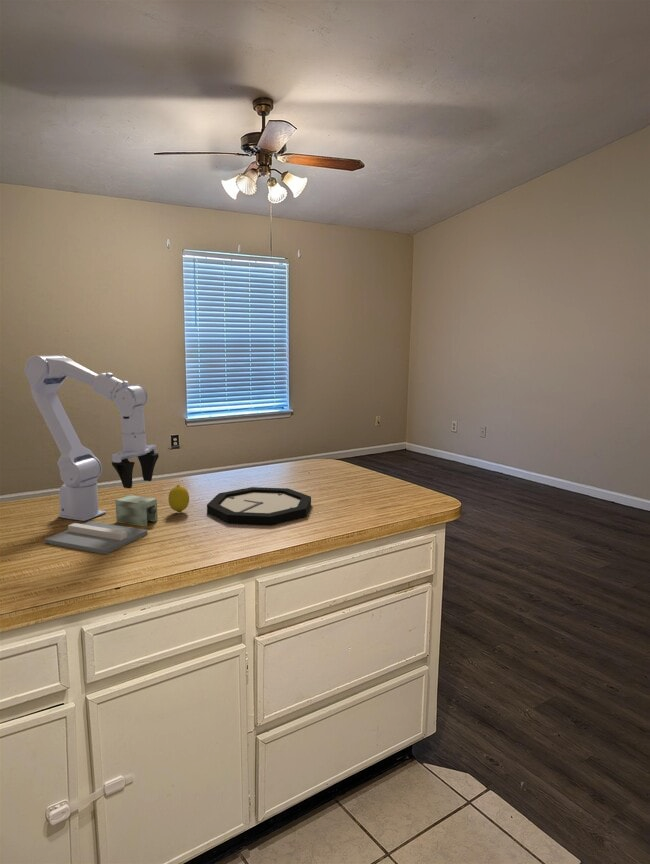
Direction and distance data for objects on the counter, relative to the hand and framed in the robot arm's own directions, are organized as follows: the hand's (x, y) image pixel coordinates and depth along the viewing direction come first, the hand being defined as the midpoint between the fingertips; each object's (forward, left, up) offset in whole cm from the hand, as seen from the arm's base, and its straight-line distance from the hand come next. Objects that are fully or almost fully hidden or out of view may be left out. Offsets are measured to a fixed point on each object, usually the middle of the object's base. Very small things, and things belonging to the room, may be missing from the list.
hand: (137, 484), depth 139 cm
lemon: (+5, +10, -10) cm, 15 cm away
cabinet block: (-1, 0, -10) cm, 10 cm away
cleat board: (-1, -14, -10) cm, 17 cm away
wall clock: (+24, +22, -11) cm, 34 cm away
